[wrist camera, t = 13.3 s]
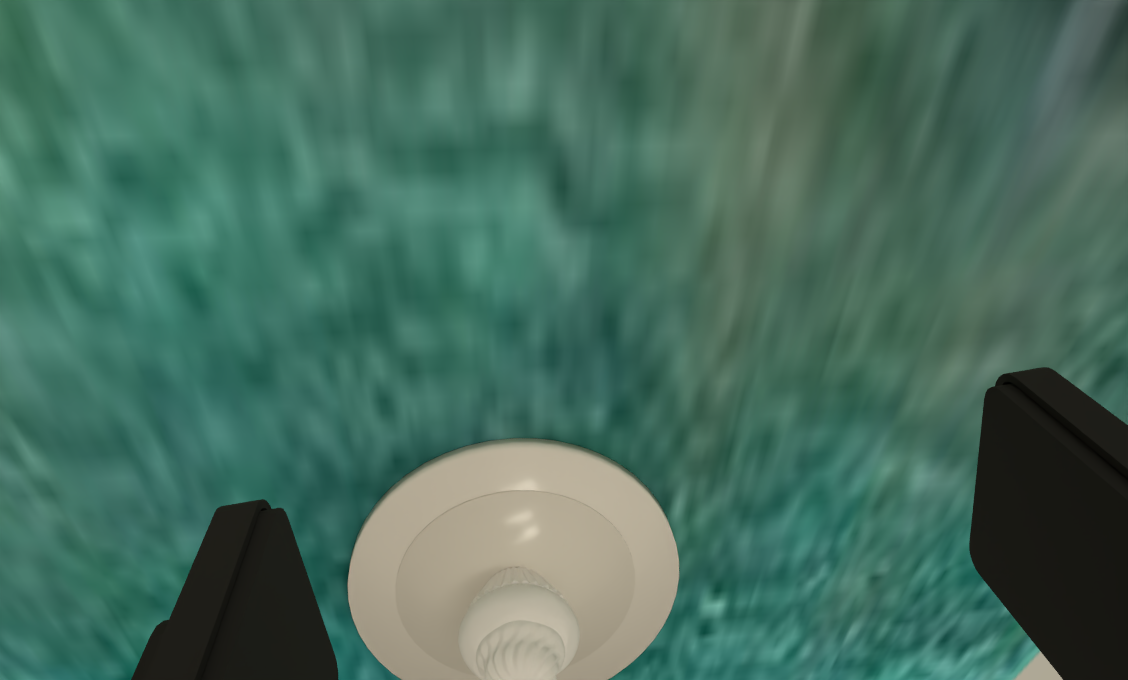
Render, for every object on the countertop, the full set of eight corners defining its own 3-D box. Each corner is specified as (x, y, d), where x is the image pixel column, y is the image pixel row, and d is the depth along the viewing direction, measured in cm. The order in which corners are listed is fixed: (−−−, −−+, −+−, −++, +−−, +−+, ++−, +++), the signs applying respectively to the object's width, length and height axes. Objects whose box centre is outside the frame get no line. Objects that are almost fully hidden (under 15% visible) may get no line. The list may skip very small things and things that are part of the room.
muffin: (540, 644, 48) (552, 751, 42) (440, 614, 47) (436, 721, 40) (591, 563, 46) (612, 663, 40) (488, 529, 44) (492, 627, 38)
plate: (662, 411, 44) (667, 423, 43) (685, 664, 52) (689, 680, 51) (312, 470, 43) (308, 484, 42) (389, 717, 51) (388, 734, 50)
